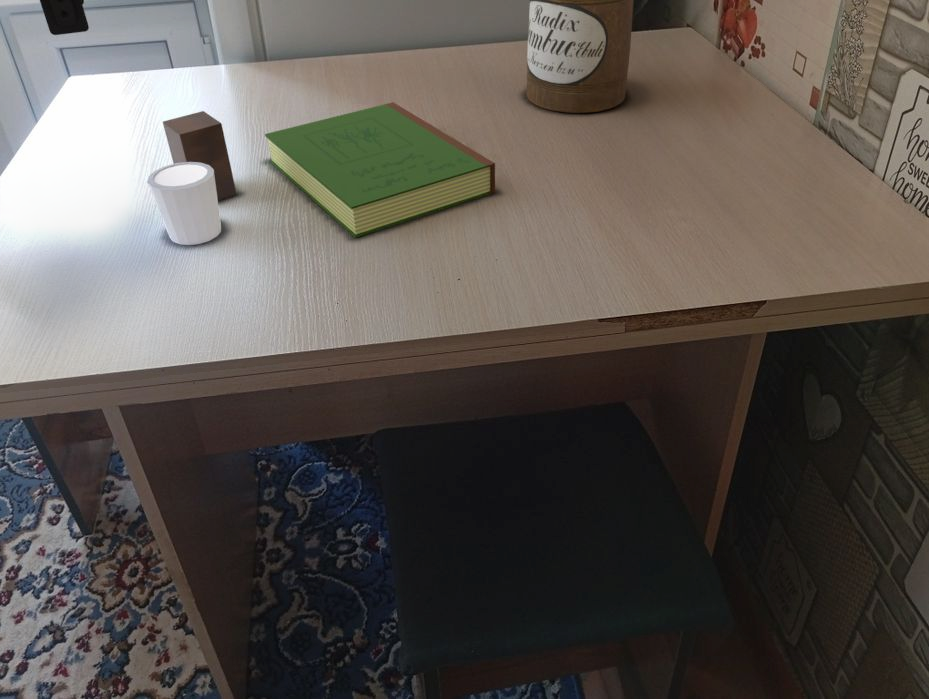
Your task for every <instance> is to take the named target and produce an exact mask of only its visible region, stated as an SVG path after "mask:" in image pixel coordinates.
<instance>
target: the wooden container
mask: <svg viewBox="0 0 929 699" xmlns="http://www.w3.org/2000/svg"><path fill="white" fill-rule="evenodd" d="M634 2H635V1H634V0H529V11H528V12H529V13H528V14H529V16H528V29H527V30H528V33H527V53H526V54H527V56H526V98H527V100H529V101H530V102H531V103H532V104H533V105H536V106H538V107H539V108H542V109H545V110H549V111H552V112H559V113H567V114H585V113H598V112H603V111H607V110H609V109H612V108H615V107H617V106H618V105H621V103H623V102H624V100H625V98H626V91H627V82H628V73H629V67H630V66H629V64H630V54H631V45H632V44H631V42H632V28H633V15H634V14H633V13H634Z"/></svg>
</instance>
